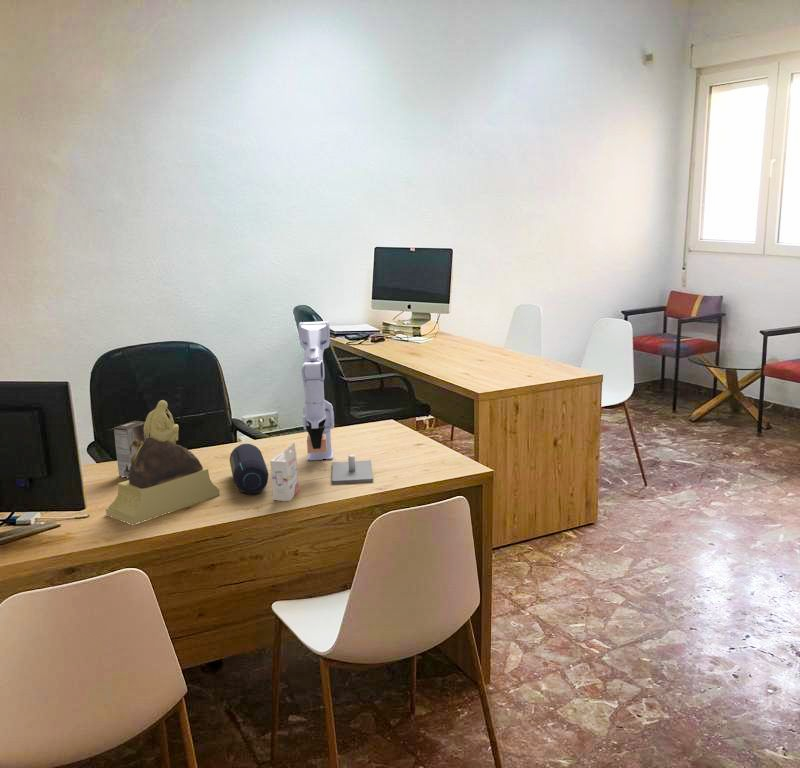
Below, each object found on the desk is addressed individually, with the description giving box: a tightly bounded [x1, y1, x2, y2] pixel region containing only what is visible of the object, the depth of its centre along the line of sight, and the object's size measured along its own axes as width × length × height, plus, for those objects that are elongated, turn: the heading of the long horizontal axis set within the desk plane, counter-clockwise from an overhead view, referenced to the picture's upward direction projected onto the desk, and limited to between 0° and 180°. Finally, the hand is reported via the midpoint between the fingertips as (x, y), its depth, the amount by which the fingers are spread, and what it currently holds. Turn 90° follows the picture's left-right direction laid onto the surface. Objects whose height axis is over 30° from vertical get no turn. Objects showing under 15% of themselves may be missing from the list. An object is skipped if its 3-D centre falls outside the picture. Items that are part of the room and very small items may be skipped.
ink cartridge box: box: [269, 442, 300, 502], centre depth 233 cm, size 9×5×15 cm, turn 168°
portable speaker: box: [229, 443, 269, 495], centre depth 246 cm, size 25×10×10 cm, turn 15°
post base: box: [331, 454, 374, 485], centre depth 252 cm, size 18×12×6 cm, turn 4°
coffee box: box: [112, 420, 150, 479], centre depth 257 cm, size 9×6×16 cm
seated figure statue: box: [105, 399, 220, 526], centre depth 228 cm, size 28×13×30 cm, turn 141°
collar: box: [306, 434, 327, 454], centre depth 250 cm, size 6×6×4 cm
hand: (317, 445), depth 250 cm, fingers closed on collar, 6 cm apart
